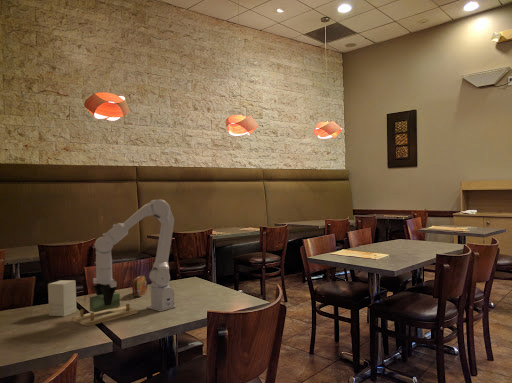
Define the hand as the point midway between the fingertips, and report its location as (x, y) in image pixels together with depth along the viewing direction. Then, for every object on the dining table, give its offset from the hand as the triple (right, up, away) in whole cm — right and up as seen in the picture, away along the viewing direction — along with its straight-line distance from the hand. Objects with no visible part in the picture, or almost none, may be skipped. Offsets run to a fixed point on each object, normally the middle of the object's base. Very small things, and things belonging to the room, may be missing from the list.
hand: (105, 304), depth 149 cm
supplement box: (-19, -6, +6) cm, 21 cm away
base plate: (0, -5, 0) cm, 5 cm away
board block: (0, -2, 0) cm, 2 cm away
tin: (+3, -6, +35) cm, 35 cm away
